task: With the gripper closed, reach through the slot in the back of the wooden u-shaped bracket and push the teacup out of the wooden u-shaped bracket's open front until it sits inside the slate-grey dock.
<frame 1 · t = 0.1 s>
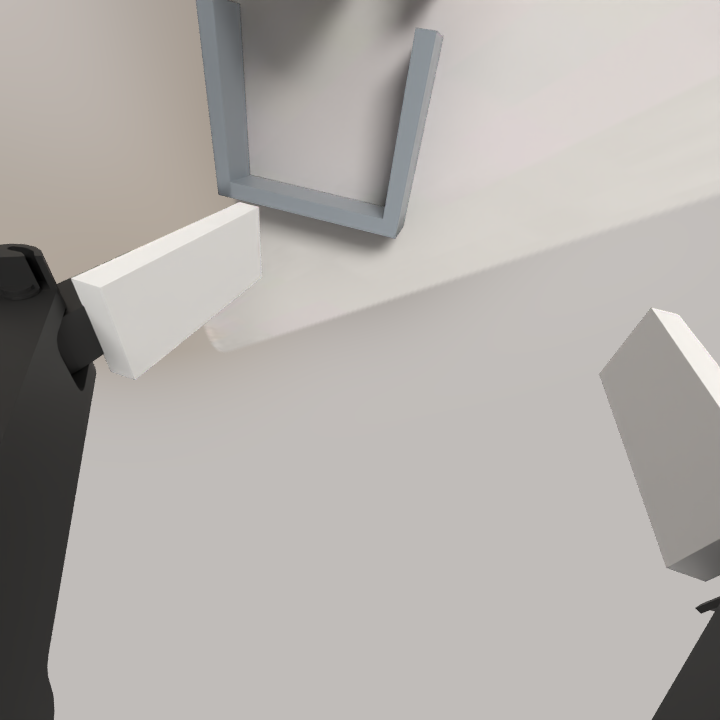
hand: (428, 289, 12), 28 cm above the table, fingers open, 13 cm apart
dock: (322, 115, 35), on the table
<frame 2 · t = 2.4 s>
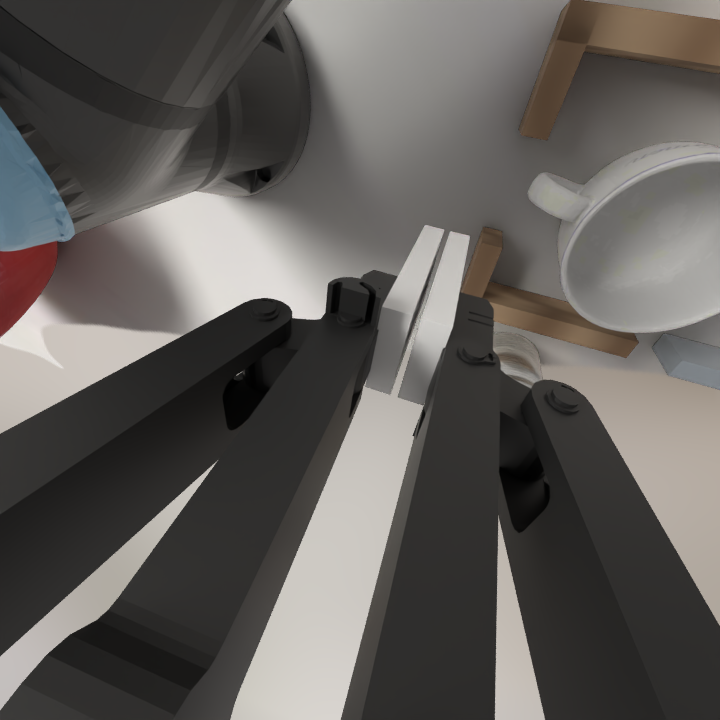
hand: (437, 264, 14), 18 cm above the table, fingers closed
wooden u-shaped bracket: (613, 207, 26), on the table
sugar tin: (501, 360, 37), on the table
teacup: (612, 206, 27), on the table
mixing bowl: (9, 201, 45), on the table
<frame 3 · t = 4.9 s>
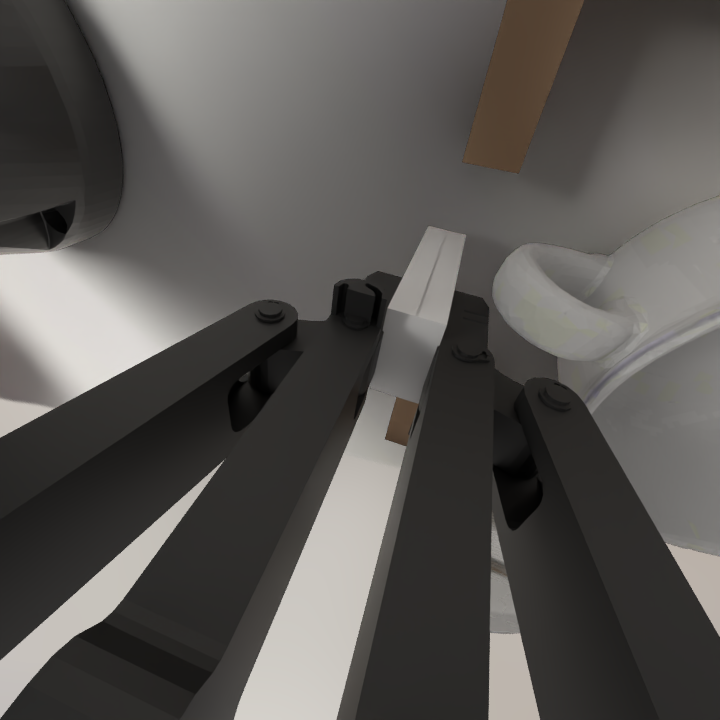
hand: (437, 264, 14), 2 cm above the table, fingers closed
wooden u-shaped bracket: (652, 283, 14), on the table
sugar tin: (471, 478, 25), on the table
teacup: (660, 282, 14), on the table, touching gripper
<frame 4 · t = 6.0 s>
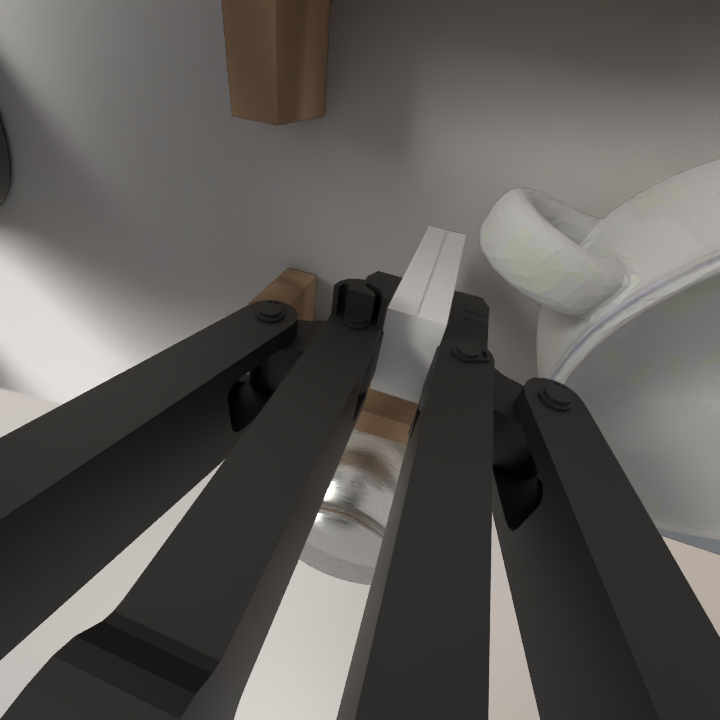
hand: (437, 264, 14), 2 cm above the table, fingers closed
wooden u-shaped bracket: (468, 241, 15), on the table
sugar tin: (370, 445, 26), on the table
teacup: (645, 260, 14), on the table, touching gripper
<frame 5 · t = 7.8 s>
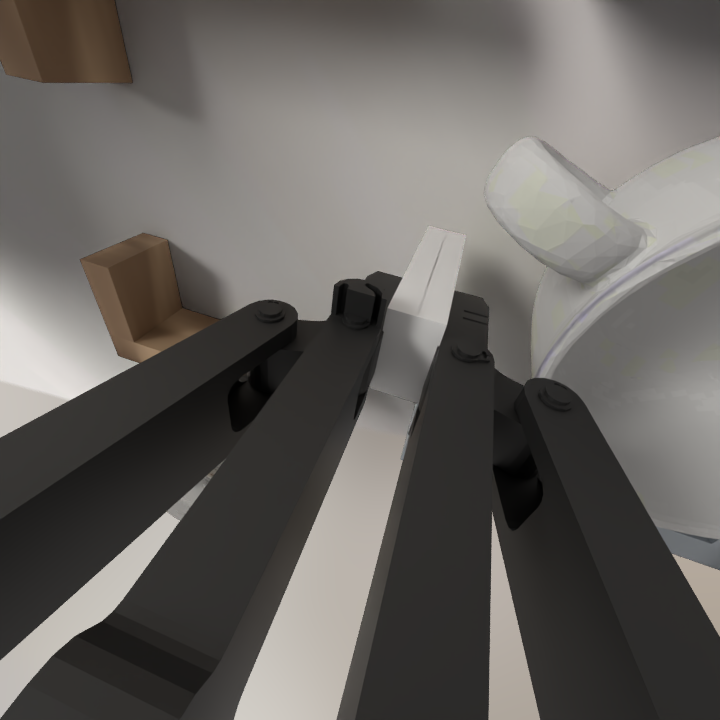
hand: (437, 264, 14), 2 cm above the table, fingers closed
dock: (640, 294, 14), on the table
wooden u-shaped bracket: (278, 203, 17), on the table
sugar tin: (258, 413, 27), on the table
teacup: (648, 246, 13), on the table, touching gripper
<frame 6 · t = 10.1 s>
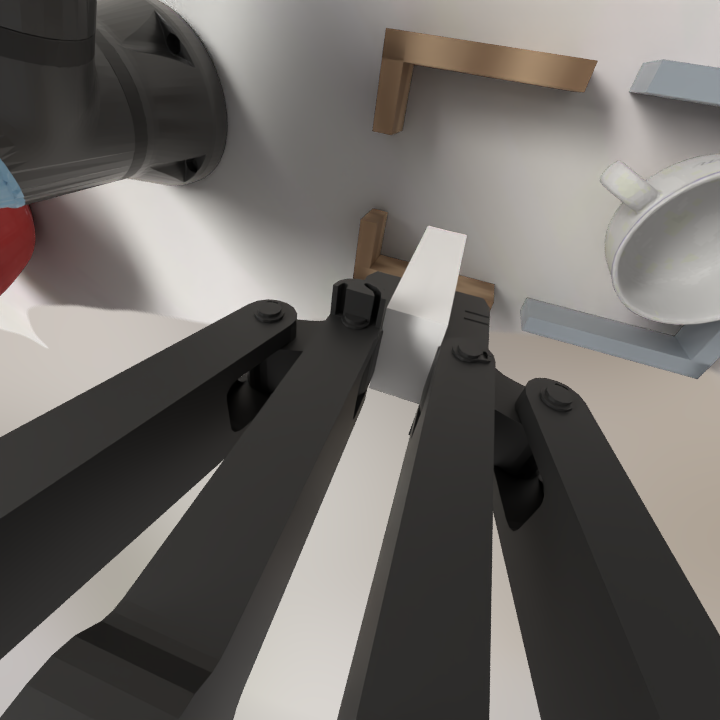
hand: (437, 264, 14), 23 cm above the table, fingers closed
dock: (654, 231, 30), on the table
wooden u-shaped bracket: (466, 190, 32), on the table
teacup: (659, 207, 29), on the table
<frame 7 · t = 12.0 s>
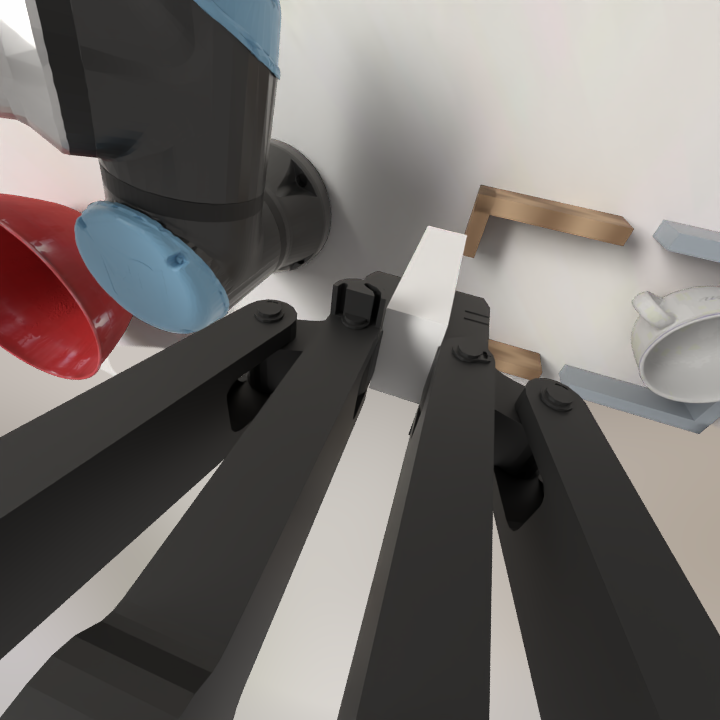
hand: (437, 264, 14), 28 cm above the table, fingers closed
dock: (668, 326, 39), on the table
wooden u-shaped bracket: (523, 288, 42), on the table
teacup: (672, 310, 39), on the table
mixing bowl: (101, 259, 60), on the table
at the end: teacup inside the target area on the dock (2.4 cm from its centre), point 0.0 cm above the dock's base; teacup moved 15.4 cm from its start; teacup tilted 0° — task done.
